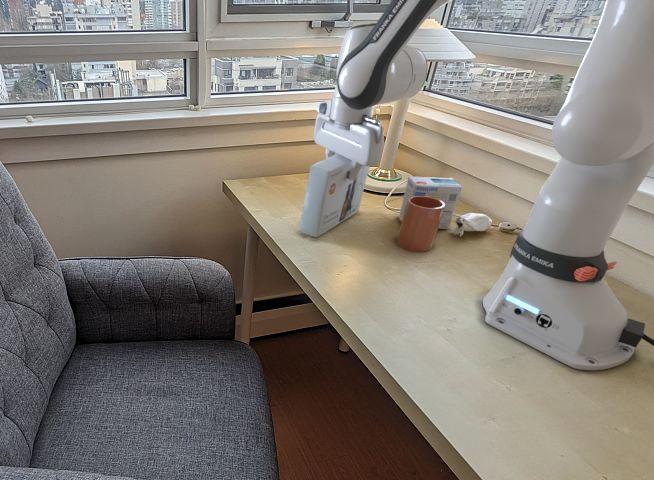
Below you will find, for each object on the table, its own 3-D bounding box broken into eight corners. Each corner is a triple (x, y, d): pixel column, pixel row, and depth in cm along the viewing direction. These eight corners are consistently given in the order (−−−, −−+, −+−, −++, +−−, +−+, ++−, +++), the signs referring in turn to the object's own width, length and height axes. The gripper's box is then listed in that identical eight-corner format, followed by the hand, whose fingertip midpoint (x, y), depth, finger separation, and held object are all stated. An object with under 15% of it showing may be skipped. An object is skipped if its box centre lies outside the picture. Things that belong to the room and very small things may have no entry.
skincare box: (318, 239, 108) (329, 170, 99) (298, 232, 111) (307, 165, 102) (361, 211, 121) (374, 149, 112) (341, 206, 124) (353, 144, 115)
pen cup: (439, 248, 106) (452, 205, 101) (413, 253, 104) (425, 210, 98) (415, 234, 112) (426, 193, 106) (389, 239, 109) (400, 198, 104)
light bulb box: (440, 218, 119) (453, 176, 113) (449, 230, 114) (464, 186, 108) (396, 216, 120) (407, 175, 114) (403, 228, 115) (415, 184, 109)
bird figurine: (469, 246, 110) (497, 227, 113) (469, 220, 106) (497, 201, 109) (450, 242, 114) (477, 223, 117) (449, 216, 110) (477, 198, 113)
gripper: (397, 120, 95) (382, 187, 103) (336, 100, 111) (327, 159, 118) (371, 122, 93) (357, 190, 101) (313, 102, 109) (305, 162, 116)
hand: (340, 173), depth 110 cm, fingers closed on skincare box, 6 cm apart
